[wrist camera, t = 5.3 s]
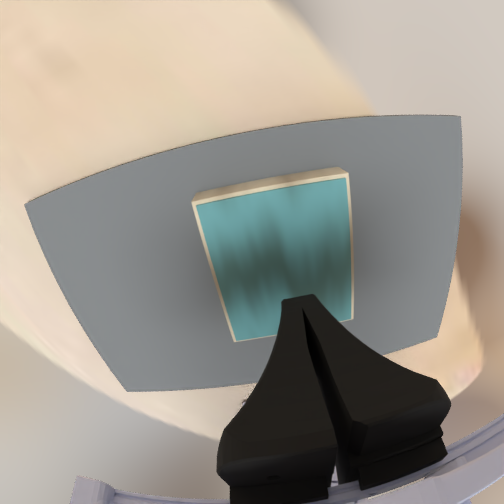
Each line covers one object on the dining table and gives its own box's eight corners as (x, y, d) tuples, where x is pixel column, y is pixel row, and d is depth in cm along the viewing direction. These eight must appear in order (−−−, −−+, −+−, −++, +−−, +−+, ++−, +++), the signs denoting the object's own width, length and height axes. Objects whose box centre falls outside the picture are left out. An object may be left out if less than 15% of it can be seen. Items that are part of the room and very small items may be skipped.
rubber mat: (434, 333, 21) (436, 337, 21) (128, 387, 23) (126, 391, 22) (455, 115, 13) (460, 116, 13) (28, 202, 15) (24, 204, 14)
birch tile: (354, 320, 17) (233, 343, 17) (346, 303, 18) (234, 325, 19) (349, 173, 13) (190, 203, 13) (338, 166, 14) (196, 192, 15)
